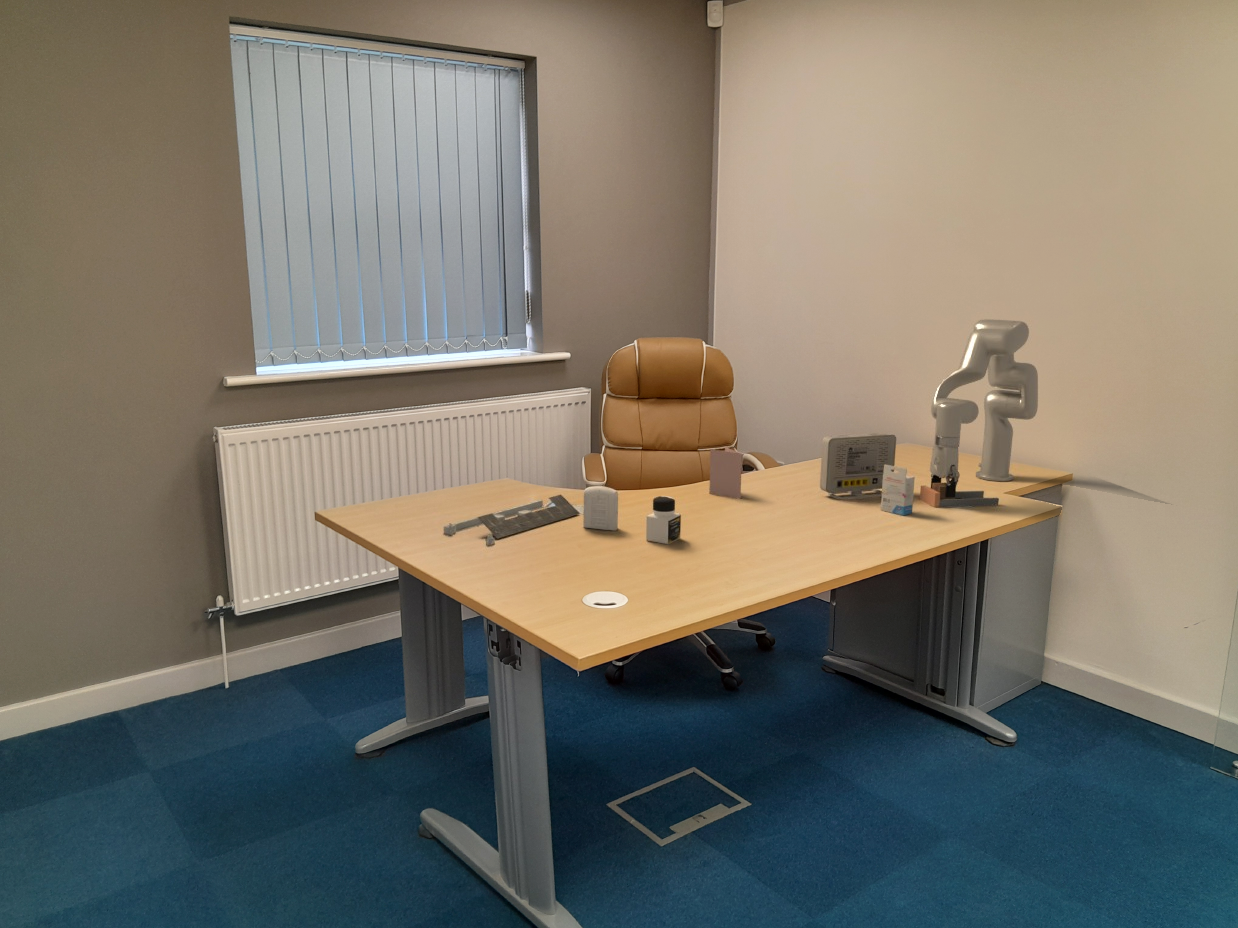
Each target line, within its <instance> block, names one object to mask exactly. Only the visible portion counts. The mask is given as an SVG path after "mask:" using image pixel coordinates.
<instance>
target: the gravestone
mask: <svg viewBox="0 0 1238 928" xmlns="http://www.w3.org/2000/svg"><path fill="white" fill-rule="evenodd" d="M583 506H584V515H583V523H582V524H583V528H585V529H587V528H588V529H594V530H595V529H597V530H603V531H604V530H605V531H617V530H618V524H619V521H618V520H619V493H618V491H617V490H616V489H614V488H611V487H608V486H604V485H602V486H601V485H598V486H597V485H596V486H589V487H586V488H585V489H584V492H583Z"/></svg>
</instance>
